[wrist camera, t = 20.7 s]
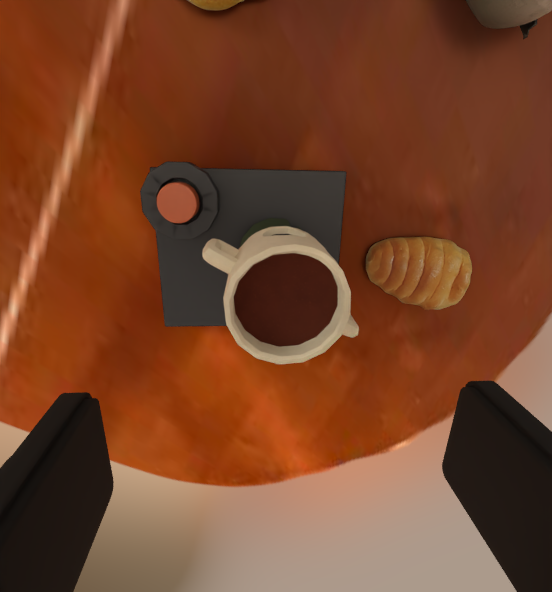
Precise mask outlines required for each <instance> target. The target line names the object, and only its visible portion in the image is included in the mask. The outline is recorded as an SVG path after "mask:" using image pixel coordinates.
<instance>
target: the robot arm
mask: <svg viewBox="0 0 552 592" xmlns="http://www.w3.org/2000/svg"><path fill="white" fill-rule="evenodd" d="M442 469H443V473H444V476H445V478H446V480H447V482H448V483H449V485H450V486H451V488H452V490H453V491H454V493H455V494H456V496H457V498H458V499H459V501H460V502H461V504H462V505H463V507H464V509H465V510H466V512H467V513H468V515H469V516H470V518H471V520H472V521H473V523H474V524H475V526H476V528H477V529H478V531H479V532H480V534H481V536H482V537H483V539H484V540H485V542H486V543H487V545H488V546H489V548H490V550H491V551H492V553H493V555H494V556H495V557H496V559H497V561H498V562H499V564H500V565H501V567H502V569H503V570H504V572H505V573H506V575H507V577H508V578H509V580H510V581H511V583H512V584H513V586H514V588H515V589H516V591H517V592H552V432H551V431H550V430H549V429H548V428H547V427H546V426H544V425H543V424H542V423H541V422H540V421H539V420H538V419H537V418H535V417H534V416H533V415H532V414H531V413H530V412H529V411H528V410H526V409H525V408H524V407H523V406H522V405H521V404H519V403H518V402H517V401H516V400H515V399H514V398H513V397H512V396H510V395H509V394H508V393H507V392H506V391H505V390H504V389H503V388H501V387H500V386H499V385H498V384H497V383H495V382H494V381H471V382H468V383H467V384H466V387H463V388H462V389H461V391H460V394H459V398H458V402H457V407H456V411H455V415H454V419H453V423H452V427H451V431H450V435H449V439H448V443H447V447H446V452H445V455H444V460H443V464H442ZM112 491H113V476H112V470H111V465H110V459H109V454H108V449H107V443H106V438H105V432H104V427H103V422H102V416H101V411H100V405H99V401H98V400H97V399H96V398H92V397H91V395H90V394H89V393H63V394H61V395H60V396H59V397H58V398H57V399H56V401H55V402H54V403H53V405H52V406H51V407H50V408H49V410H48V411H47V412H46V413H45V415H44V416H43V417H42V418H41V420H40V421H39V422H38V423H37V425H36V426H35V427H34V429H33V430H32V431H31V432H30V434H29V435H28V436H27V437H26V439H25V440H24V441H23V442H22V444H21V445H20V446H19V448H18V449H17V450H16V451H15V453H14V454H13V455H12V456H11V457H10V458H9V459H8V460H7V461H6V462H5V463H4V464H3V466H2V467H1V468H0V592H73V591H74V589H75V586H76V583H77V581H78V578H79V576H80V573H81V571H82V568H83V566H84V563H85V561H86V558H87V556H88V553H89V551H90V548H91V546H92V543H93V541H94V538H95V536H96V533H97V531H98V528H99V526H100V523H101V521H102V518H103V516H104V513H105V511H106V508H107V506H108V503H109V501H110V498H111V495H112Z"/></svg>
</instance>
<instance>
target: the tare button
mask: <svg viewBox="0 0 552 592" xmlns="http://www.w3.org/2000/svg"><path fill="white" fill-rule="evenodd" d="M199 205H200V202H199V197H198V194H197V192H196V191H195V189H194V188H193V187H191V186H190V185H189V184H187V183H184V182H173V183H169V184H167V185H165V186H164V187H162V188H161V190H160V191H159V193H158V196H157V207H158V210H159V212H160V213H161V215H162V216H163V217H164V218H165V219H166V220H168V221H170V222H173V223H185V222H187V221H189V220H190V219H191V218H193V217H194V216H195V215H196V213H197V212H198V209H199Z"/></svg>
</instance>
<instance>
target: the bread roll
mask: <svg viewBox="0 0 552 592" xmlns="http://www.w3.org/2000/svg"><path fill="white" fill-rule="evenodd" d="M188 1H189V2H191V3H192V4H194V5H195V6H197V7H200V8H202V9H205V10H224V9H228V8H230V7H232V6H234V5H236V4H237V3H239V2H241V1H244V0H188Z"/></svg>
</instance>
